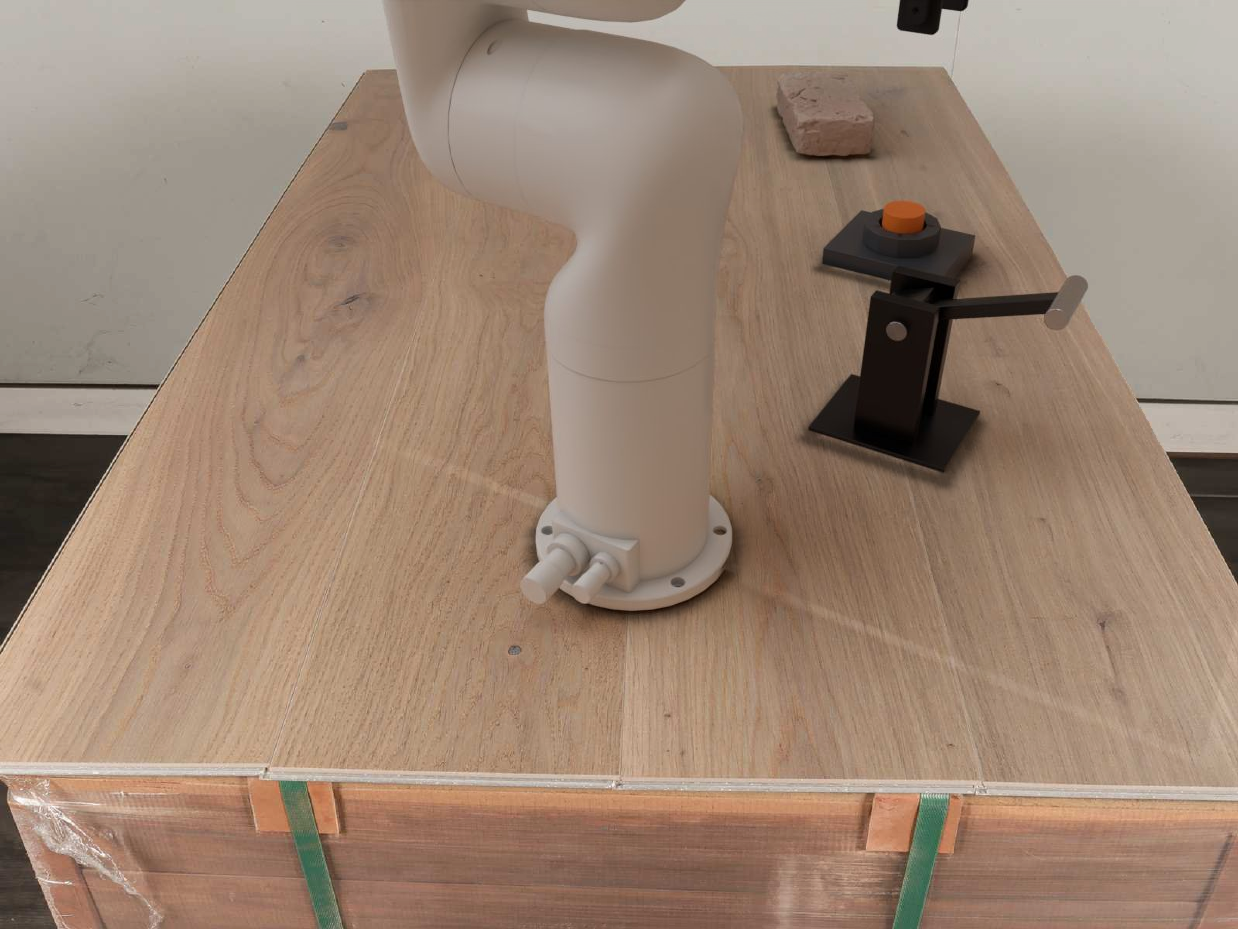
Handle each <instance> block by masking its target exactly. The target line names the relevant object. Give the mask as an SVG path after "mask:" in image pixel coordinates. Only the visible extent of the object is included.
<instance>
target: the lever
mask: <svg viewBox="0 0 1238 929" xmlns="http://www.w3.org/2000/svg"><path fill="white" fill-rule="evenodd" d="M1088 289H1089V284H1088V281H1087V279H1086V278H1085V277H1083V276H1081V275H1078V274H1074V275H1073V274H1072V275H1070V276H1068V277H1067V278H1066V279H1065V281H1064V282H1063V283H1062V286H1061V287H1060V288H1059V290H1058V291H1055V292H1040V293H1039V292H1038V293H1023V294H1009V295H1008V294H1007V295H993V296H979V297H963V298H957V299H948V300H936V295H935V290H934V288H920V289H907V290H895V291H894V292H893V293H892V294H893V295H897V296H901V297H905V298H909V299H913V300H917V301H921V302H925V303H929V304H933V305H937V306H940V311H939V317H938V322H939V320H950V319H953V320H967V319H984V318H985V319H986V318H1003V317H1019V316H1020V317H1021V316H1036V315H1037V316H1039V315H1040V316H1041V315H1044V316H1043V322H1044V325H1045V326H1046V327H1047V328H1048V329H1050V330H1052V331H1061V330H1064V329H1065V328H1067V326H1068V325H1069V323H1070V321H1071V319H1072V318H1073V316H1074V314H1075V312H1076V311H1077V309H1078V307H1079V305H1080V303H1081V302H1082V300H1083V298H1084V296H1085V295H1086V293H1087V291H1088Z"/></svg>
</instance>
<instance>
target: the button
mask: <svg viewBox="0 0 1238 929" xmlns="http://www.w3.org/2000/svg"><path fill="white" fill-rule="evenodd" d="M883 209H884V211H883V219H882V228H884V229H886V230H888V231H891V232H896V233H900V234H913V233H916V232H920V231H922V230H923V225H924V218H925V212H926V208H925V206H923V205H921V204H920V203H917V202H914V201H909V200H894V201H890V202H887V203H886V204H885V205H884V207H883ZM926 213H927V212H926Z"/></svg>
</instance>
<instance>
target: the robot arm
mask: <svg viewBox="0 0 1238 929" xmlns="http://www.w3.org/2000/svg"><path fill="white" fill-rule="evenodd" d="M686 1H687V0H381V2H382V8H383V12H384V17H385V22H386V26H387V31H388V36H389V37H388V38H389V42H390V47H391V51H392V56H393V60H394V66H395V69H396V71H395V72H396V75H397V80H398V85H399V90H400V95H401V99H402V104H403V108H404V112H405V118H406V122H407V125H408V129H409V133H410V135H411V139H412V142H413V144H414V147H415V149H416V152H417V154H418V156H419V158H420V160H421V162H422V163H423V165H424V167H425V168H426V169H427V171H428V173H429V174H430V175H431V176H432V177H433V178H434V179H435V180H436V181H437V182H438V183H439V184H441V185H442V186H443V187H444V188H445V189H448V190H450V191H451V192H453V193H455V194H458V195H460V196H463V197H465V198H467V199H471V200H473V201H477V202H480V203H483V204H486V205H489V206H493V207H496V208H497V207H498V208H501V209H505V210H509V211H513V212H516V213H520V214H522V215H527V216H530V217H534V218H538V219H541V220H543V221H544V222H545V221H546V222H549V223H552V224H554V225H558V226H561V227H564V228H566V229H568V230H569V231H571V232H572V233H573V234H574V236H575V239H576V247H575V250H574V252H573V254H572V255H571V256H570V258H569V259H568V260H567V261H566V262H565V263H564V264H563V266H562V267H560V269H559V270H558V271H557V273H556V274H555V276H554V277H553V279H552V280H551V283H550V285H549V287H548V289H547V293H546V296H545V301H544V307H543V308H544V309H543V327H544V340H545V349H546V351H545V352H546V363H547V364H546V365H547V376H548V377H547V378H548V391H549V392H548V393H549V405H550V406H549V407H550V420H551V434H552V447H553V448H552V449H553V460H554V461H553V462H554V474H555V475H554V476H555V489H556V496H555V498H553V500H552V501H550V502H549V504H547V506H546V507H545V509H544V510H543V511H542V513H541V515H540V517H539V520H538V522H537V525H536V528H535V547H536V548H535V549H536V558H537V559H538V562H537V563H536V564H535V565H534V566H533V567H532V568H531V569H530V571H529V572H528V573H527V574H526V575H525V576H524V577H523V578H521V580H520V582H519V589H520V591H521V592H522V595H523V596H524V597H525V598H526V599H527V600H528V601H530V602H531V603H533V604H535V605H544V604H546V602H548V600H550V598H551V597H552V596H553V595H554V594H555V593H556V592H557V591H558V590H559V589H560V590H561V591H563V592H564V593H566V594H567V595H569V596H571V597H573V598H574V600H576V601H577V602H579V603H580V604H583V605H587V604H589V605H591V606H595V607H600V608H605V609H610V610H617V611H629V612H633V611H634V612H635V611H649V610H657V609H661V608H666V607H671V606H674V605H676V604H679V603H682V602H685V601H688V600H691V599H692V598H693V597H696V596H697V595H699V594H700V593H702V592H704V591H705V590H707V589H708V588H709V587H710V586H711V585H713V584H714V583H715V582H716V581H717V580H718V579H719V578H720V576H721V575H722V574H723V572H724V571H725V568H723V566H724V565H725V563H726V561H727V559H728V558H729V556H730V553H731V549H732V545H733V527H732V524H731V521H730V517H729V514H727V511H726V510H725V508H724V507H723V505H722V504H721V503H720V502H719V501H718V500H717V499H716V498H715V497H714V496H713V495H712V494H711V470H712V469H711V468H712V467H711V466H712V442H713V439H712V438H713V415H714V414H713V412H714V389H715V388H714V387H715V386H714V385H715V384H714V383H715V355H716V322H717V303H718V302H717V301H718V300H717V299H718V287H719V286H718V285H719V273H720V264H721V254H722V249H723V248H722V247H723V241H724V236H725V228H726V223H727V219H728V215H729V210H730V206H731V200H732V197H733V192H734V189H735V183H736V180H737V176H738V172H739V168H740V162H741V157H742V150H743V143H744V141H743V140H744V115H743V110H742V106H741V102H740V100H739V97H738V94H737V93H736V91H735V89H734V87H733V86H732V84H731V83H730V81H728V79H727V77H726V76H725V75H723V73H722V72H721V71H720V70H718V69H717V67H715V66H714V65H713V64H711V63H709V62H708V61H706V60H705V59H703V58H701V57H700V56H697V55H695V54H693V53H691V52H688V51H685V50H683V49H680V48H677V47H675V46H672V45H668V44H665V43H660V42H657V41H652V40H646V39H643V38H642V39H641V38H637V37H631V36H625V35H619V34H614V33H607V32H602V31H597V30H591V29H576V28H570V27H564V26H559V25H552V24H548V23H542V22H535V21H530V20H529V15H528V14H529V13H528V11H531V12H532V11H533V12H537V13H538V12H539V13H543V14H548V15H549V14H550V15H554V16H555V15H556V16H560V17H567V18H573V19H580V20H587V21H597V22H606V23H607V22H609V23H629V24H630V23H639V22H640V23H641V22H648V21H654V20H657V19H660V18H662V17H664V16H667V15H669V14H671V13H673V12H675V11H676V10H678V9H679V8H680V7H681V6H682V5H683V4H684V3H685V2H686ZM969 1H970V0H899V4H898V10H897V20H896V28H897V30H898V31H900V32H908V33H914V34H922V35H927V36H933V35H935V34H937V33H938V32H939V30H940V25H941V18H942V11H943V10H945V11H947V10H948V11H955V12H963V11H966V9H967V8H968V6H969ZM719 530H720V531H723V532H725V533H723V534H717V533H715V532H716V531H719Z"/></svg>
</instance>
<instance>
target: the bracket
mask: <svg viewBox="0 0 1238 929" xmlns="http://www.w3.org/2000/svg"><path fill="white" fill-rule="evenodd" d="M960 284H961V280H960V279H956V278H955V279H953V278H948V277H944V276H940V275H936V274H932V273H927V272H923V271H919V270H915V269H911V268H906V267H902V266H897V267H896V268H895V269H894V270H893V271H892V278H891V281H890V286H889V292H885V291H881V290H877V289H876V290H874V292H873V293H872V294H871V295H870V298H869V306H868V307H869V308H868V313H867V322H866V328H865V329H866V330H865V338H864V344H863V350H862V359H861V367H860V374H859V375H858V374H854V373H851V374H850V375H849V376H848V377H847V379H846V380H845V381H844V382H843V384H842V385H841V386H840V387H839V388H838V390H837V391H836V392H835V394H833V396H832V397H831V398H830V400H829V401H828V402H827V403H826V404H825V406H824V407H823V408H822V409H821V411H820V412H819V413H818V414H817V416H815V418H814V419H813V420H812V422H811V423H810V424H809V425H808V428H807V431H810V432H814V433H816V434H818V435H819V434H820V435H823V436H826V437H828V438H832V439H834V440H835V439H836V440H838V441H842V442H844V443H849V444H851V445H855V446H858V447H860V448H864V449H866V450H870V451H873V452H876V453H880V454H883V455H886V456H889V457H892V458H895V459H898V460H901V461H904V462H908V463H911V464H915V465H918V466H921V467H924V468H926V469H931V470H934V471H936V472H940V473H945V472H946V470H947V469H948V467H949V466H950V463H951V462H952V460H953V459H954V458H955V456H956V454H957V452H958V451H959V450H960V448H961V446H962V444H963V443H964V441H965V439H966V438H967V437H968V435H969V433H970V431H971V430H972V428H973V426H974V425H975V423H976V421H977V420H978V418H979V417H980V414H981V410H978V409H975V408H971V407H969V406H964V405H961V404H958V403H955V402H951V401H947V400H944V399H940V398H939V396H940V390H941V386H942V380H943V375H944V370H945V364H946V358H947V354H948V349H949V342H950V339H951V338H950V337H951V332H952V326H953V321H954V319H950V320H939V322H938V317H939V311H940V306H937V305H933V304H929V303H925V302H921V301H917V300H913V299H909V298H905V297H901V296H897V295H893V294H892V293H893V292H894V291H895V290H907V289H920V288H934V290H935V295H936V300H948V299H958V293H959V288H960Z"/></svg>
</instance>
